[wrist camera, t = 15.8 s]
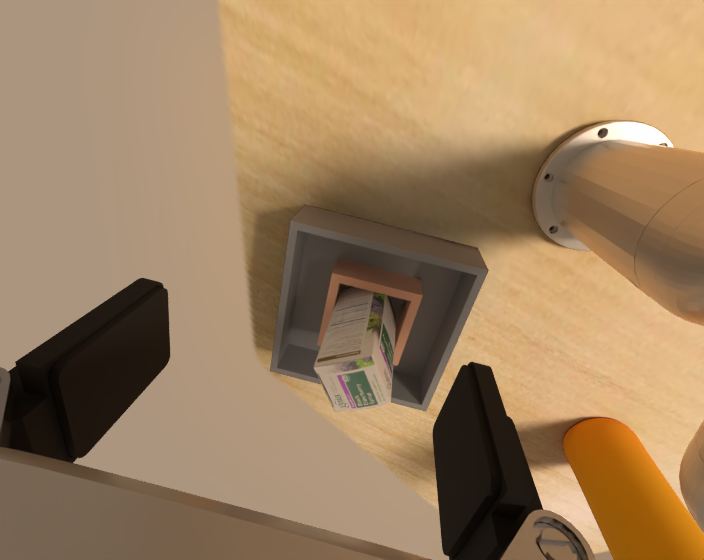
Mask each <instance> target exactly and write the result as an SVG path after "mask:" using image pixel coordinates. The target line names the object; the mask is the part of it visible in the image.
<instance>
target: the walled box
mask: <svg viewBox="0 0 704 560" xmlns="http://www.w3.org/2000/svg"><path fill="white" fill-rule="evenodd" d="M488 271H489V270H488V268H487V266H486V264H485V262H484V260H483V258H482V256H481V254H480V252H479V250H478V248H476V247H472V246H468V245H464V244H460V243H456V242H452V241H448V240H444V239H440V238H436V237H432V236H428V235H424V234H420V233H416V232H412V231H408V230H404V229H400V228H396V227H392V226H388V225H384V224H380V223H376V222H372V221H368V220H364V219H360V218H356V217H352V216H348V215H344V214H340V213H336V212H332V211H328V210H324V209H320V208H316V207H312V206H308V205H305V206H304V207H303V208H302V209H301V210H300V211H299V212H298V213H297V214H296V215H295V217H294V218H293V219H292V220H291V221H290V228H289V236H288V243H287V250H286V258H285V265H284V272H283V279H282V287H281V294H280V301H279V309H278V316H277V323H276V331H275V338H274V345H273V353H272V360H271V367H270V371H272V372H275V373H279V374H283V375H287V376H291V377H295V378H299V379H302V380H306V381H310V382H314V383H318V384H321V382H320V379H319V377H318V375H317V373H316V371H315V370H314V364H315V362H316V359H317V356H318V353H319V350H320V347H321V345H322V342H323V339H324V336H325V333H326V331H327V328H328V325H329V322H330V319H331V316H332V314H333V311H334V308H335V305H336V302H337V299H338V296H339V294H340V291H341V290H345V289H348V288H352V287H357V288H360V289H364V290H368V291H372V292H376V293H380V294H384V295H388V296H390V299H391V301H392V304H393V308H394V311H395V315H396V331H395V347H394V362H393V375H392V391H391V403H395V404H399V405H403V406H407V407H411V408H415V409H419V410H422V411H426V410H427V408H428V406H429V403H430V401H431V399H432V397H433V394H434V392H435V390H436V388H437V385H438V383H439V381H440V379H441V376H442V374H443V372H444V370H445V367H446V365H447V363H448V361H449V358H450V356H451V354H452V352H453V349H454V347H455V345H456V343H457V340H458V338H459V336H460V334H461V331H462V329H463V327H464V325H465V322H466V320H467V318H468V316H469V313H470V311H471V309H472V307H473V304H474V302H475V300H476V298H477V295H478V293H479V291H480V289H481V286H482V284H483V282H484V280H485V277H486V275H487V273H488Z"/></svg>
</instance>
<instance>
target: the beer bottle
mask: <svg viewBox="0 0 704 560" xmlns="http://www.w3.org/2000/svg"><path fill="white" fill-rule="evenodd" d="M563 448H564V452H565V455H566V457H567V460H568V462H569V464H570V466H571V468H572V470H573V472H574V474H575V476H576V478H577V480H578V482H579V485H580V487H581V489H582V491H583V493H584V496H585V498H586V500H587V502H588V504H589V507H590V509H591V511H592V513H593V515H594V518H595V520H596V522H597V524H598V526H599V528H600V531H601V533H602V535H603V537H604V539H605V542H606V544H607V546H608V548H609V550H610V553H611V555H612V557H613V559H614V560H704V534H703V532H702V531H701V529H700V528H699V526H698V525H697V524H696V522H695V521H694V519H693V518H692V516H691V515H690V513H689V512H688V511H687V509H686V508H685V506H684V505H683V503H682V502H681V500H680V499H679V498H678V496H677V495H676V493H675V492H674V490H673V489H672V487H671V486H670V484H669V483H668V482H667V480H666V479H665V477H664V476H663V474H662V473H661V471H660V470H659V469H658V467H657V466H656V464H655V463H654V461H653V460H652V458H651V457H650V456H649V454H648V453H647V451H646V449H645V448H644V446H643V445H642V443H641V442H640V440H639V438H638V437H637V436H636V434H635V433H634V432H633V431H632V430H631V429H630V428H629V427H628V426H626V425H625V424H623V423H621V422H619V421H616V420H613V419H608V418H594V419H588V420H585V421H582V422H580V423H578V424H576V425H574V426H573V427H572V428H570V429H569V430H568V432H567V433H566V434H565V436H564V440H563Z"/></svg>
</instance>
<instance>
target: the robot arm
mask: <svg viewBox="0 0 704 560" xmlns="http://www.w3.org/2000/svg"><path fill="white" fill-rule="evenodd" d="M599 130H601V133H600V134H599V135H597V134H598V131H599ZM546 174H548V177H547V178H546V179H544V177H545V175H546ZM532 207H533V213H534V216H535V219H536V222H537V223H538V225H539V226H540V228H541V230H542V231H543V232H544V233H545V234H546V235H547V236H548V237H549V238H551V239H552V240H553V241H555V242H556V243H558V244H560V245H562V246H564V247H566V248H570V249H574V250H579V251H593V252H594V253H595V254H596V255H598V256H599V257H600V258H601V259H603V260H604V261H605V262H606V263H608V264H609V265H610V266H611V267H613V268H614V269H615V270H616V271H618V272H619V273H620V274H621V275H623V276H624V277H625V278H626V279H628V280H629V281H630V282H631V283H633V284H634V285H635V286H636V287H638V288H639V289H640V290H641V291H643V292H644V293H645V294H646V295H648V296H649V297H651V298H652V299H653V300H654V301H656V302H657V303H658V304H659V305H661V306H662V307H663V308H665V309H666V310H668V311H669V312H671V313H672V314H674V315H676V316H678V317H680V318H682V319H684V320H686V321H689V322H692V323H695V324H698V325H702V326H704V153H701V152H696V151H690V150H684V149H679V148H674V145H673V143H672V142H671V141H670V140H669V138H668V137H667V136H666V135H665V134H664V133H663V132H661V131H660V130H658V129H657V128H655V127H654V126H651V125H648V124H645V123H643V122H637V121H629V120H614V121H607V122H601V123H598V124H595V125H592V126H589V127H587V128H585V129H583V130H581V131H579V132H577V133H575V134H573V135H572V136H571V137H569V138H568V139H567V140H565V141H564V142H563V143H561V144H560V145H559V146H558V147H557V148H556V149H555V150H554V151H553V152H552V153H551V154H550V156H549V157H548V159H547V160H546V161H545V163H544V164H543V165H542V167H541V169H540V171H539V173H538V175H537V177H536V181H535V184H534V187H533V194H532ZM552 226H553V227H552ZM550 227H552V229H550ZM169 358H170V338H169V312H168V292H167V289H165V288H164V287H163V285H162V283H160V282H157V281H153V280H149V279H145V278H140V279H138V280H136V281H135V282H133V283H132V284H131V285H129V286H128V287H126V288H124V289H123V290H121V291H120V292H118V293H117V294H116V295H114V296H113V297H111V298H110V299H108V300H107V301H105V302H104V303H102V304H101V305H99V306H98V307H96V308H95V309H93V310H92V311H90V312H89V313H87V314H86V315H84V316H83V317H81V318H80V319H78V320H77V321H76V322H74V323H72V324H71V325H69V326H68V327H66V328H65V329H64V330H62V331H61V332H59V333H58V334H56V335H55V336H53V337H52V338H50V339H49V340H47V341H46V342H44V343H43V344H41V345H40V346H38V347H37V348H36V349H34V350H32V351H31V352H29V353H28V354H26V355H25V356H23V357H22V358H20V359H19V360H18V361H16V362H15V363H16V367H14V368H13V369H11V370H10V371H7V370H6V369H4V368H1V367H0V560H430V559H427V558H424V557H420V556H417V555H413V554H410V553H407V552H403V551H400V550H396V549H393V548H389V547H386V546H382V545H379V544H375V543H371V542H368V541H364V540H360V539H357V538H353V537H349V536H345V535H342V534H338V533H335V532H330V531H327V530H324V529H320V528H316V527H313V526H309V525H305V524H302V523H298V522H294V521H290V520H287V519H283V518H279V517H276V516H272V515H268V514H264V513H260V512H257V511H253V510H249V509H246V508H242V507H238V506H234V505H230V504H227V503H223V502H219V501H215V500H211V499H208V498H204V497H200V496H197V495H193V494H189V493H185V492H182V491H178V490H174V489H170V488H166V487H162V486H159V485H155V484H151V483H147V482H143V481H139V480H136V479H132V478H128V477H124V476H120V475H116V474H113V473H109V472H104V471H101V470H97V469H93V468H89V467H86V466H81V465H78V464H74V463H73V462H74V461H75V460H76V459H77V458H82V457H83V456H85V455H86V454H87V453H88V452H89V451H90V450H91V449H92V448H93V447H94V445H95V444H96V443H97V442H98V441H99V440H100V439H101V438H102V437H103V435H104V434H105V433H106V432H107V431H108V430H109V429H110V428H111V427H112V426H113V424H114V423H115V422H116V421H117V420H118V419H119V418H120V417H121V415H122V414H123V413H124V412H125V411H126V410H127V409H128V407H130V405H131V404H132V403H133V402H134V401H135V400H136V399H137V398H138V396H139V395H140V394H141V393H142V392H143V391H144V390H145V389H146V387H147V386H148V385H149V384H150V383H151V382H152V381H153V380H154V379H155V378H156V376H157V375H158V374H159V373H160V372H161V371H162V370H163V369H164V368H165V366H166V365H167V363H168V361H169ZM433 445H434V456H435V468H436V479H437V491H438V503H439V514H440V525H441V538H442V548H443V552H444V554H445V555H447V556H449V560H595V556H594V554H593V552H592V550H591V548H590V546H589V544H588V543H587V541H586V540H585V538H584V537H583V536H582V534H581V533H580V532H579V531H578V530H577V529H576V528H575V527H574V526H573V525H572V524H571V523H570V522H569V521H567V520H566V519H564V518H563V517H562V516H560V515H558V514H556V513H554V512H551V511H548V510H543V508H542V505H541V502H540V499H539V496H538V493H537V490H536V487H535V484H534V481H533V478H532V475H531V472H530V469H529V466H528V463H527V460H526V458H525V455H524V452H523V449H522V446H521V443H520V440H519V437H518V434H517V431H516V428H515V425H514V423H513V421H512V419H511V418H510V417H508V416H507V415H506V412H505V408H504V405H503V402H502V399H501V396H500V393H499V390H498V387H497V384H496V381H495V378H494V375H493V372H492V369H491V367H489V366H486V365H482V364H478V363H474V362H470V363H469V364H468V366H467V365H463V366H462V367H461V369H460V371H459V373H458V375H457V377H456V379H455V381H454V383H453V386H452V388H451V390H450V392H449V394H448V396H447V398H446V400H445V403H444V405H443V407H442V409H441V411H440V413H439V415H438V417H437V420H436V422H435V424H434V428H433ZM679 479H680V487H681V492H682V495H683V498H684V501H685V503H686V505H687V507H688V510H689V512H690V513H691V515H692V517H693V518H694V520H695V521H696V523H697V524H698V526H699V527H700V528H701V530H702V531H703V532H704V421H703V422H702V424H701V425H700V427H699V429H698V431H697V432H696V434H695V436H694V437H693V439H692V440H691V442H690V444H689V445H688V447H687V449H686V451H685V453H684V456H683V459H682V462H681V465H680V473H679Z"/></svg>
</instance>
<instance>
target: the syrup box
mask: <svg viewBox="0 0 704 560" xmlns="http://www.w3.org/2000/svg"><path fill="white" fill-rule="evenodd" d="M395 331H396V315H395V311H394V308H393V304H392V301H391V299H390V296H388V295H384V294H380V293H376V292H372V291H368V290H364V289H360V288H357V287H352V288H348V289H345V290H341V291H340V294H339V296H338V299H337V302H336V305H335V308H334V311H333V314H332V316H331V319H330V322H329V325H328V328H327V331H326V333H325V336H324V339H323V342H322V345H321V347H320V350H319V353H318V356H317V359H316V362H315V364H314V370H315V371H316V373H317V375H318V377H319V379H320V382H321V384H322V386H323V389H324V391H325V393H326V395H327V397H328V399H329V401H330V403H331V405H332V407H333V409H334V411H336V412H338V411H352V410H361V409H367V408H372V407H378V406H382V405H386V404H390V403H391V391H392V375H393V362H394V347H395Z"/></svg>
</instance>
